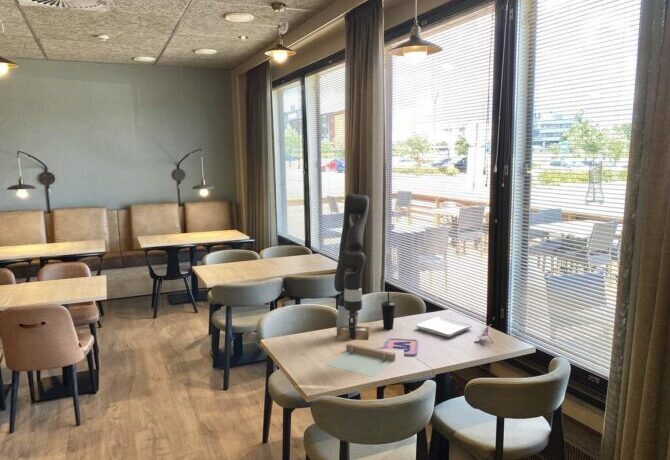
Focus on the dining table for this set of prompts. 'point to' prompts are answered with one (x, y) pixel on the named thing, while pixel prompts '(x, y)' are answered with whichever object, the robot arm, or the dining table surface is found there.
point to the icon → (402, 345)
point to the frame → (360, 333)
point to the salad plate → (443, 326)
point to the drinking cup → (388, 313)
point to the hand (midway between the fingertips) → (353, 336)
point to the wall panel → (363, 360)
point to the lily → (485, 332)
